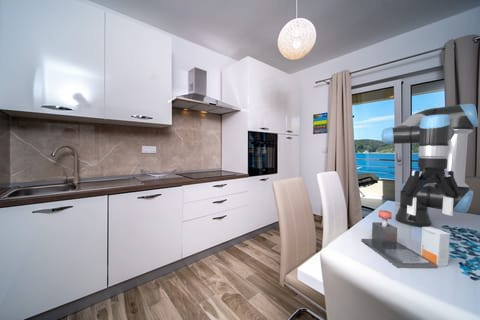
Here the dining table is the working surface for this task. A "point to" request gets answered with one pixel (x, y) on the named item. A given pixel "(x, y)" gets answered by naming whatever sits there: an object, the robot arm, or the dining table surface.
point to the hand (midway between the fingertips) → (429, 214)
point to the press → (394, 248)
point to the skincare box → (435, 245)
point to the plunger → (384, 216)
